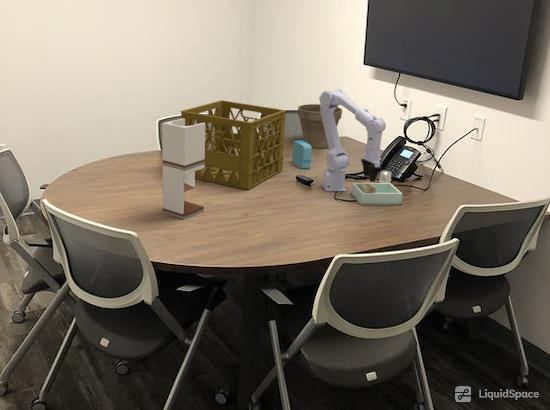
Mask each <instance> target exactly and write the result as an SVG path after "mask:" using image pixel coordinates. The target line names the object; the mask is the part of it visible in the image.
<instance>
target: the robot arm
mask: <svg viewBox="0 0 550 410" xmlns="http://www.w3.org/2000/svg"><path fill="white" fill-rule="evenodd" d="M318 99H319V104H321V105H320V113H321V117H322V122H323V126H324V130H325V134H326V138H327V142H328V146H329V147H328V152H327V153H326V167H327V168H328V169H324V170H323V174H322V182H321V183H322V184H321V186H322V188H323V189H324V191H325V192H346V191H347V189H346V188H345V179H346V170H347V168H348V167H349V165H350V163H351V159H350V157H349V156H348V153H347V152H346V150H345V148H343V147H342V143H341V140H340V137H339V131H338V126H337V127H336V122H335V118H334V114H333V112H334V111H335V109H336V108H337V107H339V106H342V107H343V108H345V109H346V110H347V111H349V112H351V113H352V115H354V118H355V120H356V121H358V122H359V123H360V124H362V126H364V127H365V130H366V132H367V134H366V135H367V141H366V146H365V147H366V148H365V153H364V154H363V158H361V159H360V162H361V164H362V171H363V176H364V177H369V183H376V180H377V177H378V175H379V174H380V173H379V172H381V171H382V168H383V166H381V162H380V161H382V158H381V156H380V151H381V143H382V135H383V132H384V131H385V130H386V127H387V125H386V124H387V123H386V122H385V120H384V119H383V118H381V117H380V118H379V117H378V118H377V116H376V115H374V114H373V113H371V112H370V111H369V109H368V108H364V107H362V108H360V107H359V106H358V105H357V104H356V103H355V102H354V101H353V100H352V99H351V98H350V97H349V96H347V93H346V92H344V91H343V90H342V89H340V88H337V89H333V90H331V89H330V90H324V91H323V92H321V94H320V96H319V98H318Z"/></svg>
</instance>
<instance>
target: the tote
mask: <svg viewBox="0 0 550 410" xmlns="http://www.w3.org/2000/svg"><path fill="white" fill-rule="evenodd" d="M361 184H372V185H374V186H375V187H376V193H363V192H362V191H361ZM350 195H351V196H352V197H353V198H354V199H355V200H356V202H358V204H359V205H361V206H390V205H391V206H394V205H395V206H401V205H402V200H403V192H401V191H400V190H399V189H398V188H397V187H396V186H394V185H393V184H392V183H391V182H390V183H379V182H352V183H351V189H350Z"/></svg>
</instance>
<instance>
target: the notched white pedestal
mask: <svg viewBox="0 0 550 410" xmlns="http://www.w3.org/2000/svg"><path fill="white" fill-rule="evenodd" d="M161 124H162V125H161V126H162V130H161V131H162V132H161V133H162V135H161V137H162V139H161V140H162V144H161V145H162V213H163V214H165V215H168V216H171V217H174V218H177V219H180V220H183V221H184V220H185V221H186V220H188V219H189V218H192V217H195V216H197V215H199V214H201V213H203V212H204V211H205V208H204V207H205V206H202V205H199V204H197V203H194V202H190V201H187V200H185V194H186V192H188V191H190V190H194V189H195V188H196V187H195V186H196V178H195V171H197V170H200V169H203V168H206V167H205V141H206V138H205V135H206V133H205V123H200V124H197V123H196V124H194V125H192V126H185V119H184V118H183V119H181V118H179V119H174V120H170V121H169V120H168V121H165V122H162V123H161Z"/></svg>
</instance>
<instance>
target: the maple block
mask: <svg viewBox="0 0 550 410" xmlns="http://www.w3.org/2000/svg"><path fill="white" fill-rule="evenodd" d="M361 191H362V192H363V193H376V187H375V186H374V185H372V184H361Z"/></svg>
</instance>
